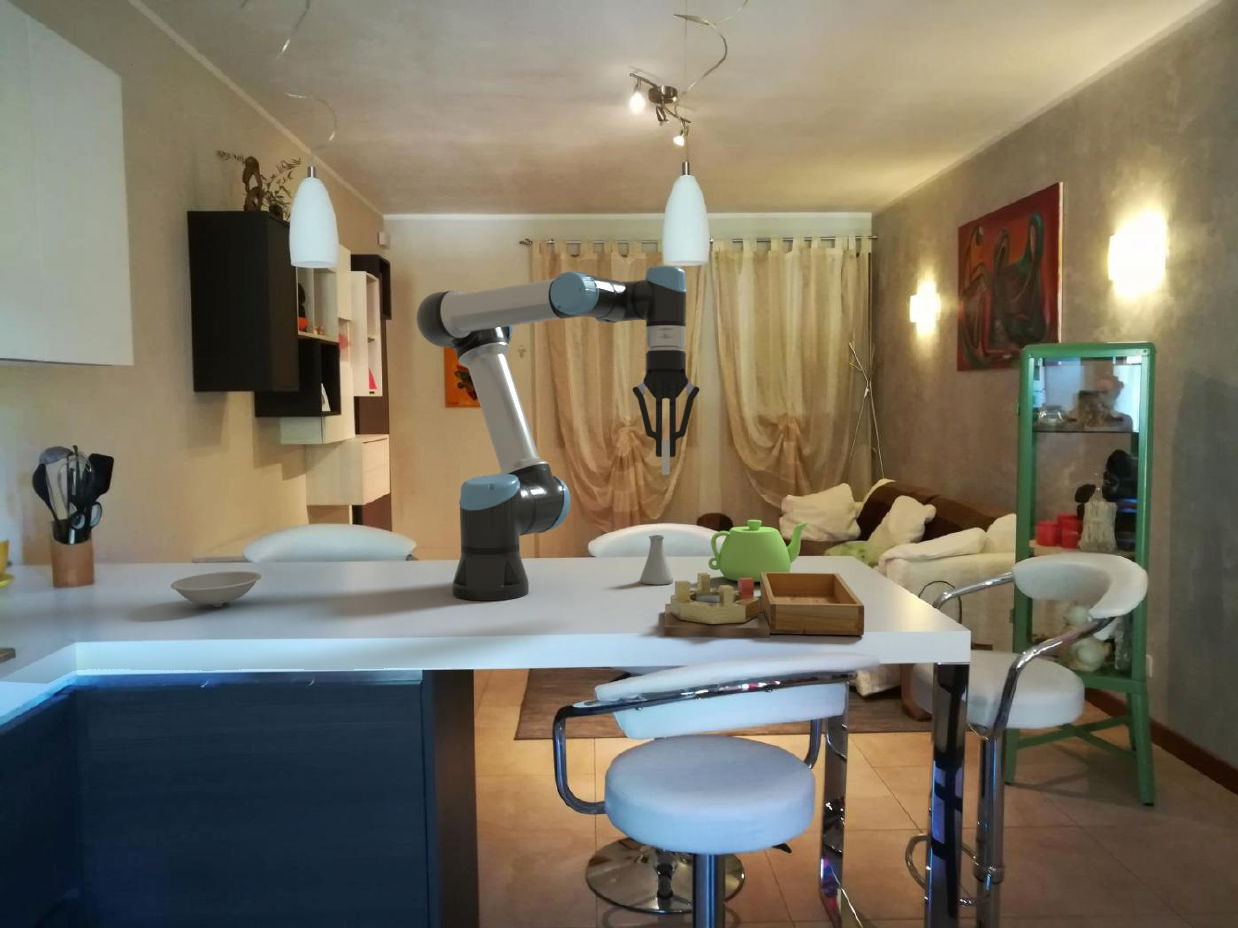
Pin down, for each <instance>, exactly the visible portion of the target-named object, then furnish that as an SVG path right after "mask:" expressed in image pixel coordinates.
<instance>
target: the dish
mask: <svg viewBox="0 0 1238 928" xmlns="http://www.w3.org/2000/svg"><path fill="white" fill-rule="evenodd" d="M261 577H262V575H261V574H260V573H258V572H254V571H245V570H244V571H242V570H238V571H233V570H232V571H219V572H210V573H203V574H197V575H191V576H188V577H185V578H181V579H177V580H176V581H173V582H172V583H171V584H170V588H171V589H173V590H176V591H177V592H178V593H179V594H180V595H181V596H182V597H183V598H184V599H186V600H188V601H190V602H191V603H195V604H200V605H212V607H214V608H215V607H216V608H220V607H223V605H224V603H229V602H231V601H235V600H238V599H239V598H241V597H244V596H245V594H247V593H248V592H250V590H251V589H252V588H253V587H254V586H255V584H256V583H257V581H259V580H260V579H261Z"/></svg>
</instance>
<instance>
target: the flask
mask: <svg viewBox="0 0 1238 928" xmlns="http://www.w3.org/2000/svg"><path fill="white" fill-rule="evenodd" d="M648 537H649V539H650V544H649V550H648V555H647V559H646V561H645V564H644V568H643V571H642V573H641V575H640V579H639V582H640V583H642V584H644V585H645V584H646V585H647V584H648V585H656V586H657V585H669V584H671V583H673V582H674V579H673V575H672V572H671V570H670V567H669V565H668V562H667V559H666V555H665V550H664V545H663V544H664V543H663V542H664V540H663V539H664V538H665V536H664V535H663V534H650V535H648Z"/></svg>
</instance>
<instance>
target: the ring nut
mask: <svg viewBox="0 0 1238 928" xmlns="http://www.w3.org/2000/svg"><path fill="white" fill-rule="evenodd" d="M737 582H738V584H737V585H738V590H734V587H733V586H731V585H730V584H725V585H719V586H718V587H719V588H711V574H709V573H707V572H697V589H691V581H690V580H675V581H674V594H672V595H670V604H671V613H673V614H674V615H675V616H676V617H678V618H679V619H680V620H686V621H693V622H700V623H708V624H722V623H739V622H746V621H748V620H750V619H752V618H754V617H756V616H758V615H759V605H760V598H758V597H757V596H755V582H754V579H753V578H751V577H749V578H739V580H738V581H737ZM709 595H716V596H719V603H714V604H712V603H704V602H697V598H698V597H701V596H709Z"/></svg>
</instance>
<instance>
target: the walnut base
mask: <svg viewBox="0 0 1238 928" xmlns="http://www.w3.org/2000/svg"><path fill="white" fill-rule="evenodd" d="M697 602H704V603H712V604H714V603H719V596H716V595H709V596H701V597H698V598H697ZM764 614H765V611H764V610H763V609H762V608H761V606H760V604H759V615H758V616H756V617H754V618H752V619H750V620H748V621H746V622H739V623H722V624H708V623H700V622H693V621H686V620H680V619H679V618H678V617H676V616H675V615H674V614H673V613H671V603H665V604H664V636H665V637H713V638H714V637H716V638H717V637H718V638H719V637H721V638H722V637H723V638H725V637H726V638H727V637H729V638H730V637H731V638H732V637H733V638H734V637H735V638H770V637H771V635H770V634H771V633H770V627H769V625H768V622H767V618H766V615H764Z"/></svg>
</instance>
